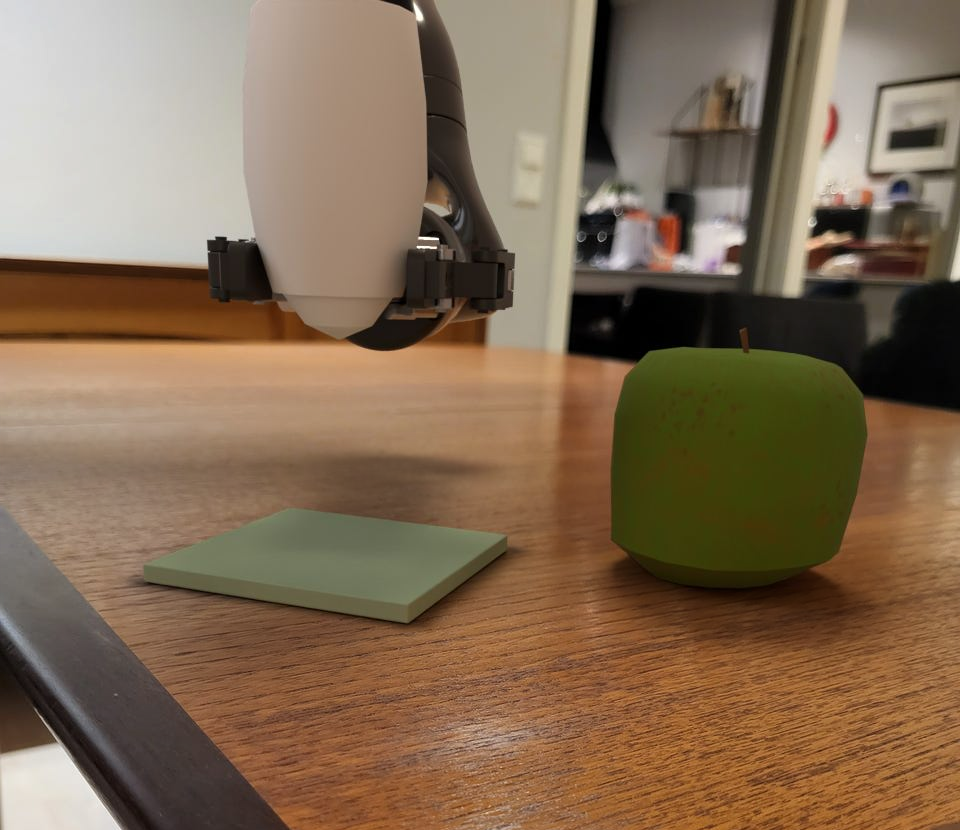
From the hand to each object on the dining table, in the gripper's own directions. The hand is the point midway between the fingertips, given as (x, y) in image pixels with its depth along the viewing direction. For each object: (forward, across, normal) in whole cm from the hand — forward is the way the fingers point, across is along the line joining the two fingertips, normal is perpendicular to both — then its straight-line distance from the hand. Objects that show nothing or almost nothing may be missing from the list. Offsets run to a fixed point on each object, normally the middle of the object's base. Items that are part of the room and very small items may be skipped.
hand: (326, 275), depth 39 cm
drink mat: (-2, 0, +12) cm, 12 cm away
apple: (-5, +17, +12) cm, 22 cm away
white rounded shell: (-2, 0, +12) cm, 12 cm away
